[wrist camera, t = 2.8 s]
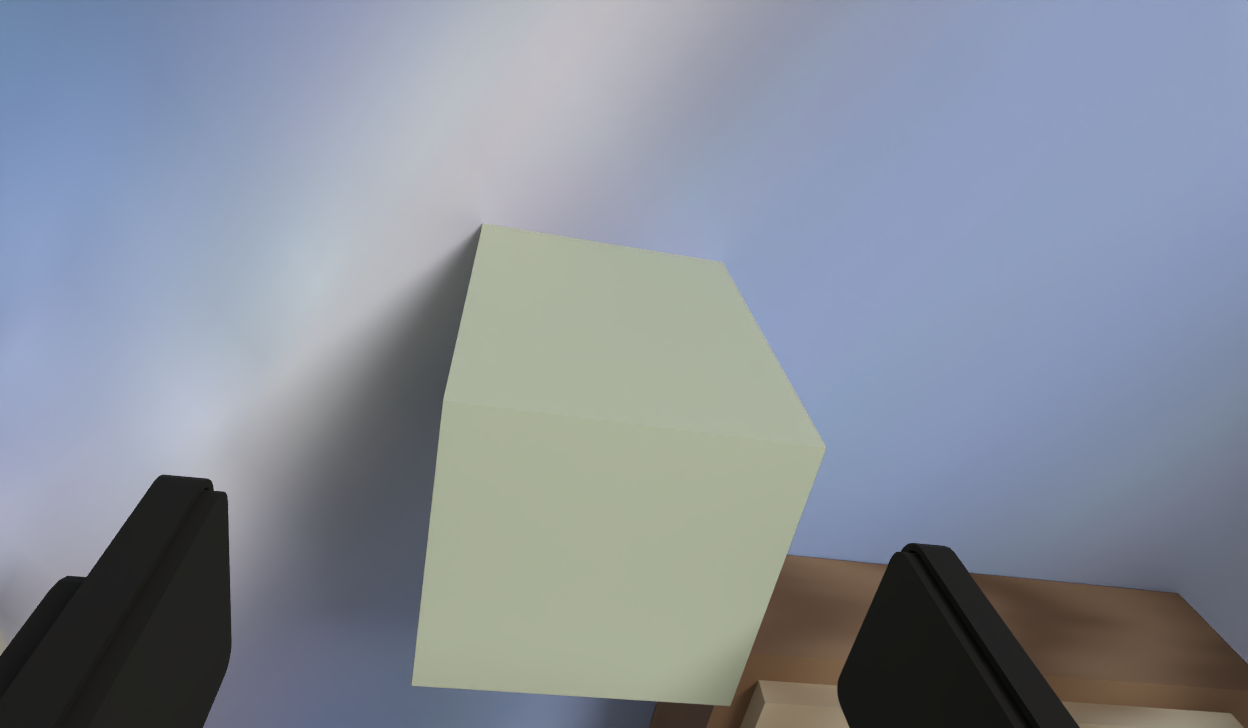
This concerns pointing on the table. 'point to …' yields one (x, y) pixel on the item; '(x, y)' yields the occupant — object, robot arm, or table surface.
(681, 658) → the block
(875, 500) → the table surface
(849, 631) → the base
